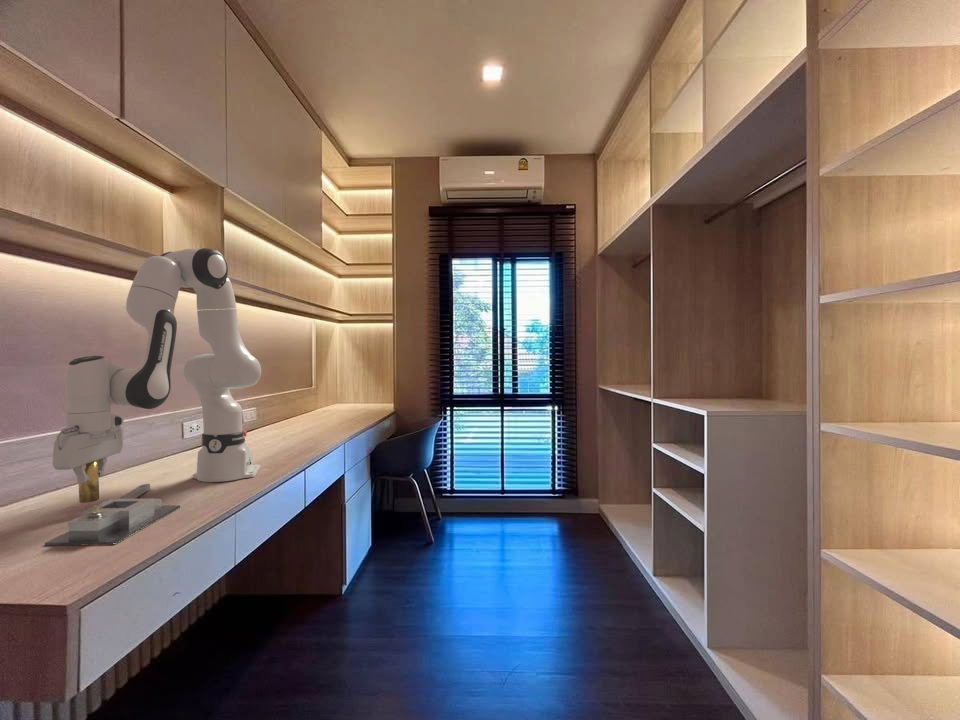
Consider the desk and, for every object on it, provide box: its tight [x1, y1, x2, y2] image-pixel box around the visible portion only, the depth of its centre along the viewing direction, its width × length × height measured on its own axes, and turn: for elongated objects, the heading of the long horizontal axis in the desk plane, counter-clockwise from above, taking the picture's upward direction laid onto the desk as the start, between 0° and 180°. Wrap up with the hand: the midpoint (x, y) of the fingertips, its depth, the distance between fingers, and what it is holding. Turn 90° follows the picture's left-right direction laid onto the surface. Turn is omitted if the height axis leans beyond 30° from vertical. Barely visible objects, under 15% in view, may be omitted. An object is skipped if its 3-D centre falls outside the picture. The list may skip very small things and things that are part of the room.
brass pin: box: [77, 460, 100, 504], centre depth 130 cm, size 4×4×10 cm
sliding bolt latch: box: [44, 497, 181, 547], centre depth 123 cm, size 26×14×5 cm, turn 3°
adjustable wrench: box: [118, 483, 151, 499], centre depth 142 cm, size 25×6×2 cm, turn 11°
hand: (90, 479), depth 130 cm, fingers closed on brass pin, 4 cm apart
